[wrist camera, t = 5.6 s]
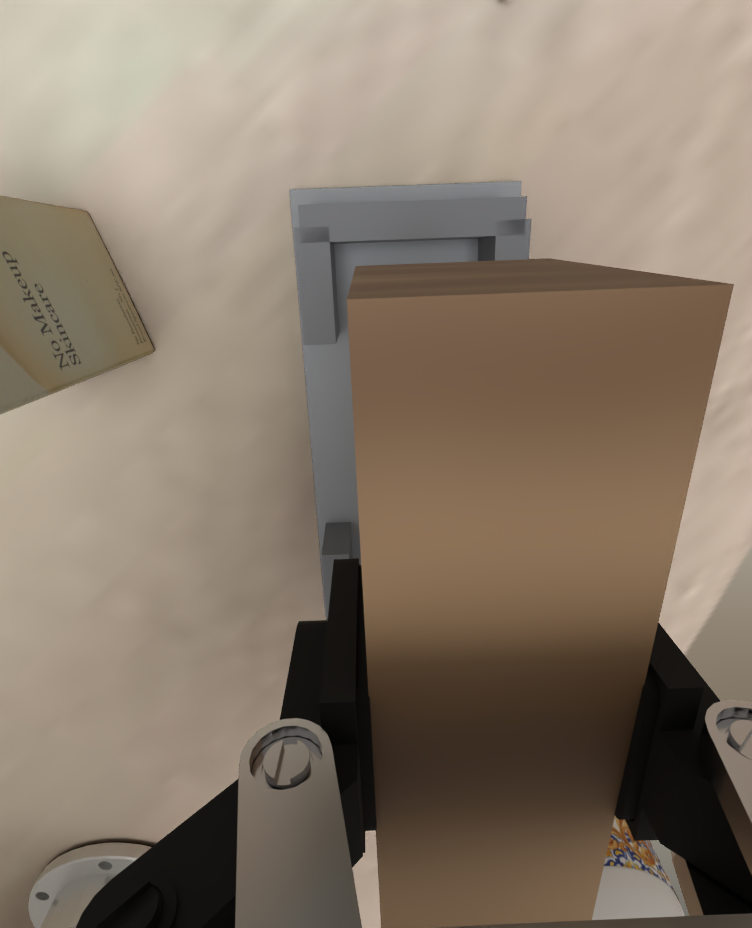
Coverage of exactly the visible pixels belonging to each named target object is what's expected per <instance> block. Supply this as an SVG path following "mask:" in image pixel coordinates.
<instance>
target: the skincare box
mask: <svg viewBox="0 0 752 928" xmlns="http://www.w3.org/2000/svg"><path fill="white" fill-rule="evenodd" d="M153 351H154V349H153V346H152V344H151V342H150V340H149V338H148V336H147V333H146V331H145V329H144V327H143V325H142V322H141V320H140V318H139V316H138V314H137V312H136V310H135V308H134V306H133V303H132V301H131V299H130V297H129V295H128V293H127V291H126V289H125V287H124V285H123V283H122V281H121V279H120V276H119V274H118V272H117V270H116V268H115V266H114V264H113V262H112V260H111V258H110V256H109V254H108V252H107V250H106V248H105V246H104V244H103V242H102V240H101V238H100V236H99V234H98V232H97V230H96V228H95V226H94V224H93V222H92V220H91V218H90V216H89V214H88V213H87V212H86V211H83V210H78V209H72V208H66V207H61V206H55V205H49V204H43V203H38V202H32V201H27V200H21V199H16V198H10V197H5V196H0V414H2V413H5V412H8V411H10V410H13V409H15V408H18V407H20V406H23V405H25V404H28V403H30V402H33V401H35V400H38V399H40V398H43V397H45V396H48V395H50V394H53V393H55V392H58V391H60V390H63V389H65V388H68V387H70V386H73V385H75V384H77V383H80V382H82V381H85V380H87V379H90V378H92V377H95V376H97V375H100V374H102V373H105V372H107V371H110V370H112V369H115V368H117V367H120V366H122V365H124V364H127V363H129V362H132V361H134V360H136V359H139V358H141V357H144V356H146V355H148V354H151V353H152V352H153Z"/></svg>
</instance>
